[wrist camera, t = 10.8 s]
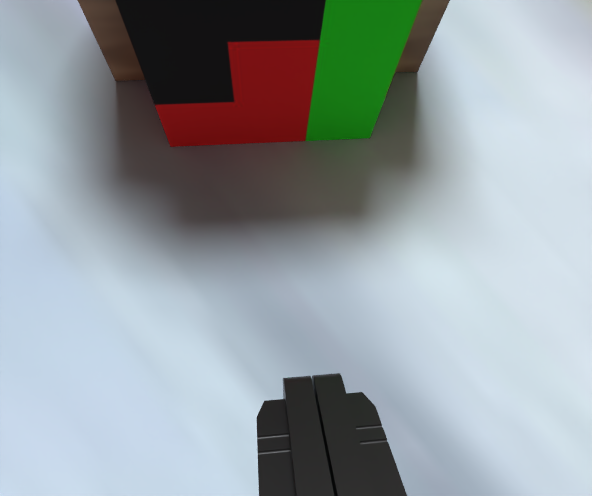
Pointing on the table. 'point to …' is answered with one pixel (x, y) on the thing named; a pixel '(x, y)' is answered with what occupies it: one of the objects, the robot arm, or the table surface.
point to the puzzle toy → (268, 66)
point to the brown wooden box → (125, 67)
